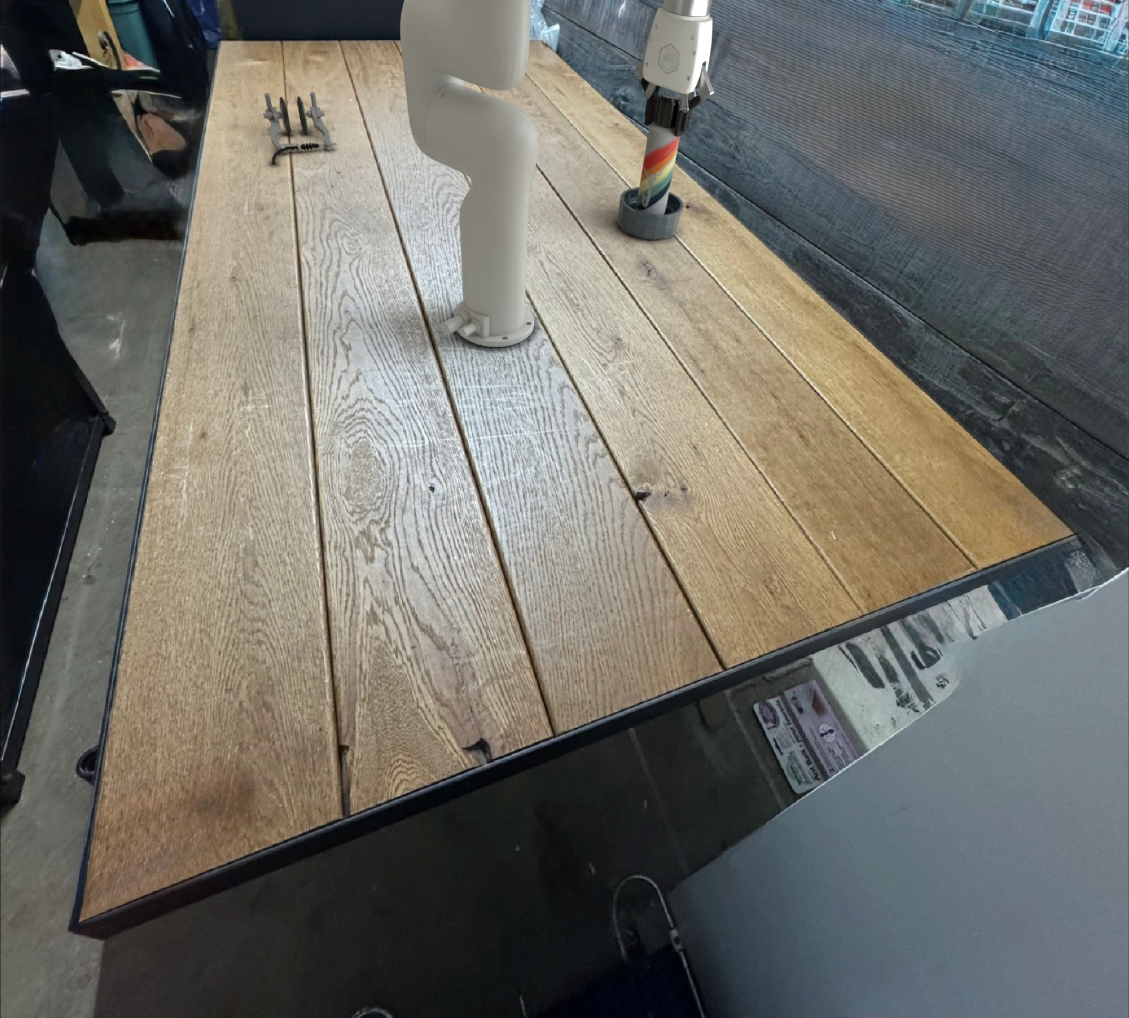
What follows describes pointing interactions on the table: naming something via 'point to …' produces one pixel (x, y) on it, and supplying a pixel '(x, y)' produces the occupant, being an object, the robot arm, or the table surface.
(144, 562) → the table surface
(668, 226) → the bowl
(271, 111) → the bike brake
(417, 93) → the robot arm
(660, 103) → the lotion bottle
